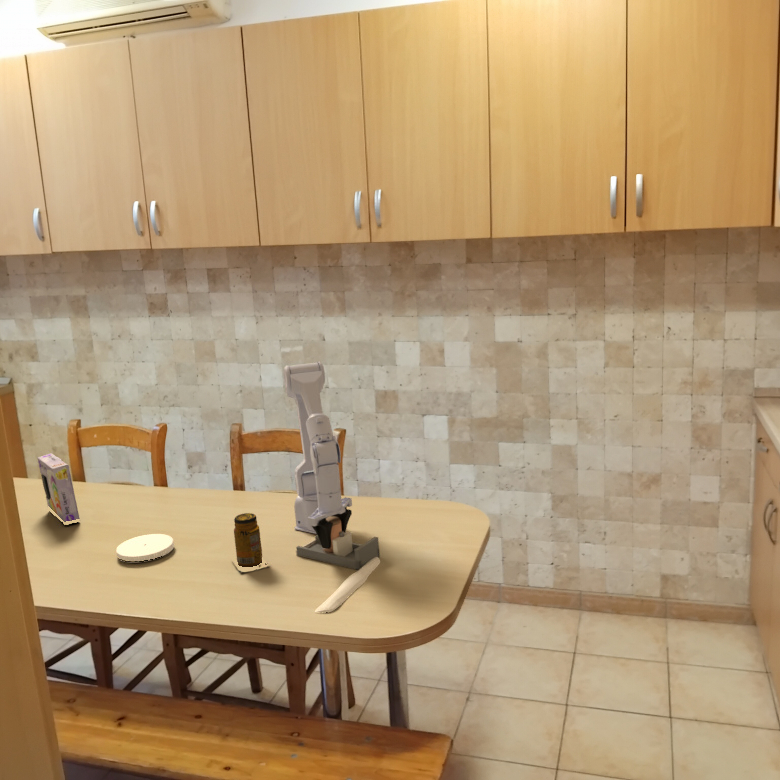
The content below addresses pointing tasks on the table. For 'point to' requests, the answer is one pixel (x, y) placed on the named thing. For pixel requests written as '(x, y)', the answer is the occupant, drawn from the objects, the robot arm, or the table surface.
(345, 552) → the pusher
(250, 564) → the condiment
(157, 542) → the plastic lid
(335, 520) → the jar
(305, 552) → the grey tray
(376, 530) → the table surface
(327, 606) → the spatula
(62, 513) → the cake pan box
